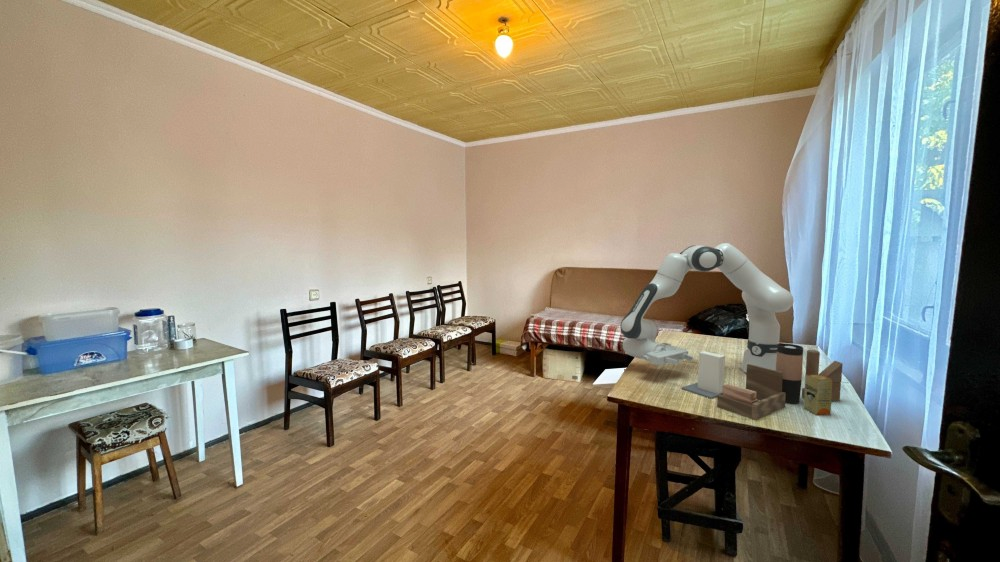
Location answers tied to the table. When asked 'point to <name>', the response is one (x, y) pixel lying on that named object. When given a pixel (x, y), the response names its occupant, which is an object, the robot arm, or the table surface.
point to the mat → (700, 391)
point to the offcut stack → (739, 394)
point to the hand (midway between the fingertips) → (685, 360)
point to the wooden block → (824, 372)
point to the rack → (758, 393)
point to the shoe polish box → (818, 394)
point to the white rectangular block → (711, 372)
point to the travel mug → (790, 370)
